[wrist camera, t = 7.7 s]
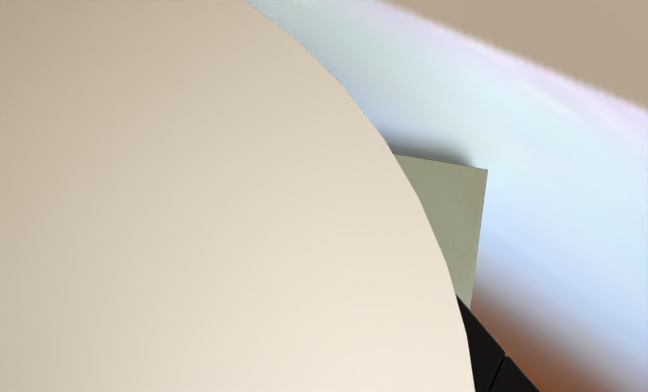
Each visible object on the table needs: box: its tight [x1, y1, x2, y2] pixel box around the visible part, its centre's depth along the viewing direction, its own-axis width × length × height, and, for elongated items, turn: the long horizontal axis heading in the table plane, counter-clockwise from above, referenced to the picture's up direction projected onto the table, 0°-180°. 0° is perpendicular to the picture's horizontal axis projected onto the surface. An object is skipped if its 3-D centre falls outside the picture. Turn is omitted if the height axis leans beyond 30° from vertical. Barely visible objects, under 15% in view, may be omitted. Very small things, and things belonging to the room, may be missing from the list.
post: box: [0, 0, 475, 392], centre depth 9 cm, size 5×5×13 cm
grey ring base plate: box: [393, 154, 488, 309], centre depth 16 cm, size 15×14×4 cm
